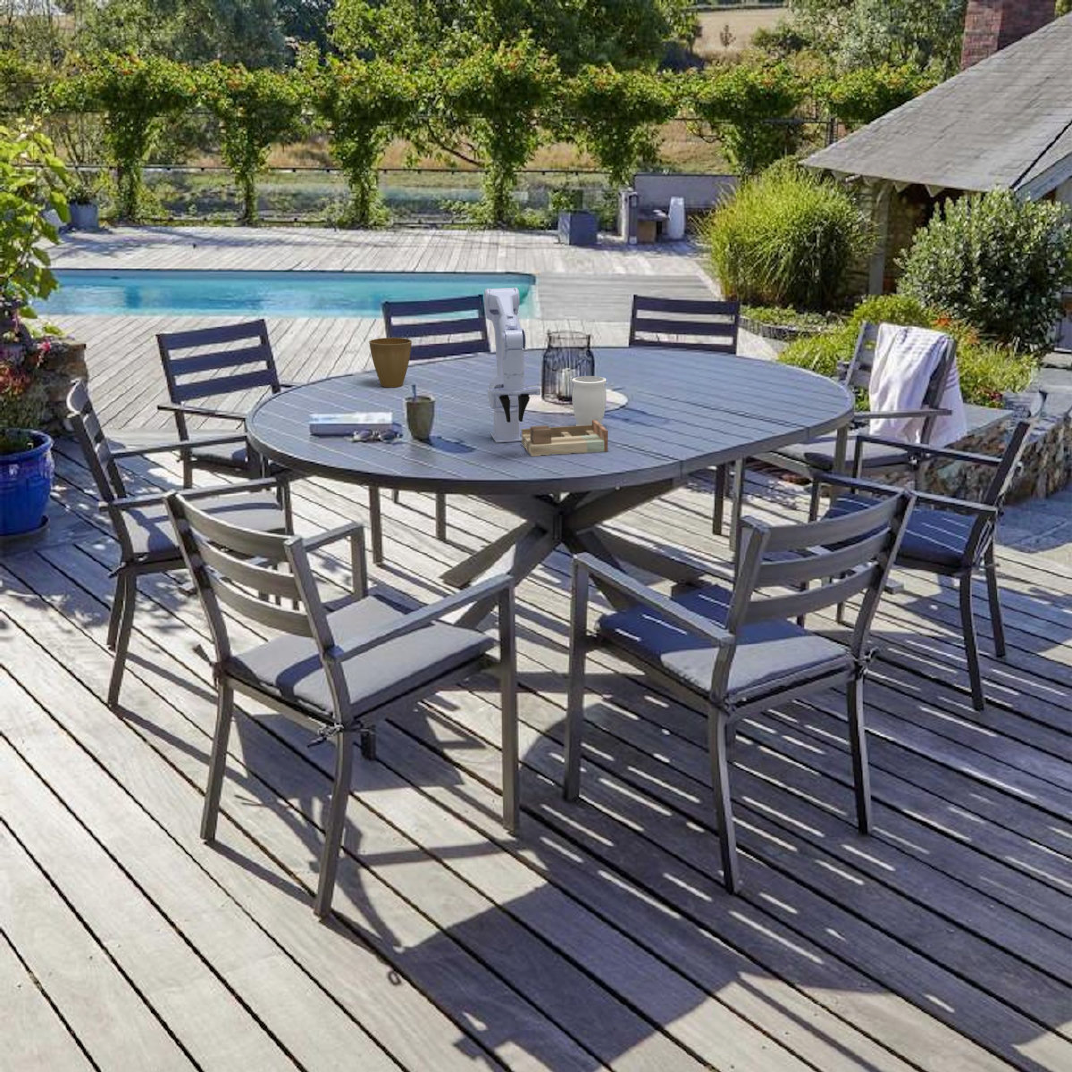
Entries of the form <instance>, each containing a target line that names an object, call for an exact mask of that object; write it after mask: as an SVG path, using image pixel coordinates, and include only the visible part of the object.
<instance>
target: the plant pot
mask: <svg viewBox="0 0 1072 1072" xmlns="http://www.w3.org/2000/svg"><path fill="white" fill-rule="evenodd" d="M368 343H369V349H370V354H371V358H372V362H373V366H374V369H375V370H374V371H375V373H376V376H377V378H378V381H379V383H380V386H381V387H383V386H385V387H384V388H389V387H393V388H400V387H403V384H404V382H405V379H406V375H407V371H408V368H409V362H410V358H411V350H412V343H413V340H412V339H410V338H404V337H382V338H380V337H379V338H375V339H370V340H369V341H368ZM399 386H400V387H399Z"/></svg>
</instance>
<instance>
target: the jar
mask: <svg viewBox="0 0 1072 1072" xmlns="http://www.w3.org/2000/svg"><path fill="white" fill-rule="evenodd" d="M571 381H572V384H573V387H572V395H571V397H572V399H571V400H572V401H571V402H572V407H573V414H574V418H575V420H576V424H575V426H582V425H592V420H596V421H597V422H599V423H600V424H601V425H602V426H603V423H602V421H603V419H604V417H605V412H606V406H607V389H606V386H605V385H606V384H607V378H605V377H602V376H597V375H596V376H595V375H584V376H577V377H573V378H572V380H571ZM603 427H604V426H603Z"/></svg>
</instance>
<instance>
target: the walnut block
mask: <svg viewBox="0 0 1072 1072" xmlns="http://www.w3.org/2000/svg"><path fill="white" fill-rule="evenodd" d="M529 427H530V428H529V429H530V440H531V441H532V443H533V444H550V443H551V429H550V426H549V425H533V426H529Z"/></svg>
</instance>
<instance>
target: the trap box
mask: <svg viewBox="0 0 1072 1072" xmlns="http://www.w3.org/2000/svg"><path fill="white" fill-rule="evenodd" d="M602 425H603V424H602ZM602 425H601V424H600V423H599V422H597V421H596V420H592V425H582V426H576V425H570V426H554V427H553V426H552V427H551V426H549V428H550V429H551V443H550V444H533V443H532V441H531V440H530V428H521V438H522V441H521V445H522V444H523V445H524V446H523V445H522V446H523V448H524V449H525V448H526V449H525V450H526V451H527V453H528V454H529V453H530V454H531V455H530V454H529V455H530V456H531V457H541V455H546V456H550V455H549V454H561V455H571V453H577V454H590V453H606V452H607V453H608V451H609V450H608V449H609V445H608V443H609V442H608V441H609V439H608V438H609V430H608V429H606V428H605V427H604V426H602Z"/></svg>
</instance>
